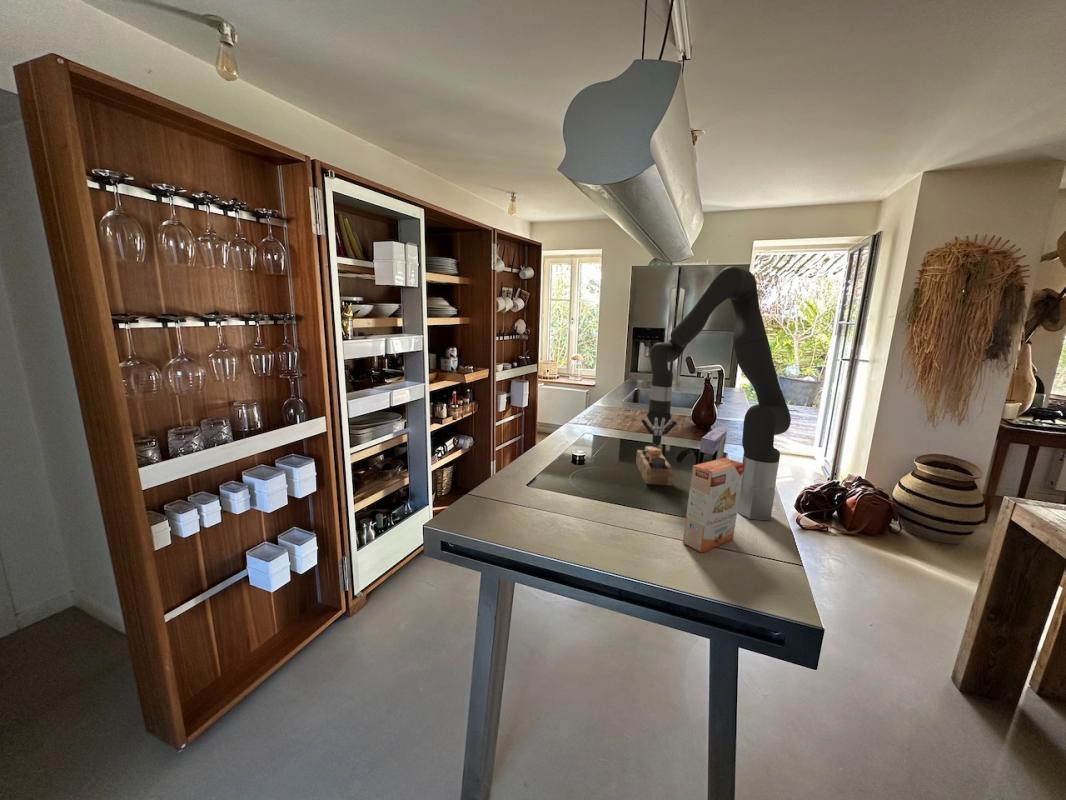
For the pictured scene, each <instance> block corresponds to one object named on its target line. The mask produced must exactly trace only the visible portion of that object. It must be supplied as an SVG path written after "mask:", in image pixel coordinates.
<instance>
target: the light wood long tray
mask: <svg viewBox="0 0 1066 800" xmlns="http://www.w3.org/2000/svg"><path fill="white" fill-rule="evenodd" d="M649 458H650V456H646V452H645V449H644V450H643V449H637V451H636V459H635V464H636V466H637V468H638V470H639V473H640V475H641V477H642V479H643V481H644V484H646V485H658V486H659V485H660V486H670V487H671V486H673V482H674V473H675V472H674V469H673V467H672V466H671V464H670V463H669V462H668V460H667V459H666V457H665V456H664V454H663V453H662V452H661V455H659V458H663V459H665V465H663V469H659V468H653V463H652V462H649Z"/></svg>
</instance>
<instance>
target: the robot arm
mask: <svg viewBox="0 0 1066 800" xmlns="http://www.w3.org/2000/svg"><path fill="white" fill-rule="evenodd" d="M727 299H730V302H731V304H732V306H733V312H734V316H735V326H734V330H733V331H734V332H733V338H732V345H733V350H734V354H735V359H736V362H737V364H738V367H739V368H740V370H741V372H742V373H743V375H744V376H745V377H746V379H747V380H748V381H749V383H750V385H752V387H753V389H754V391H755V395H756V397H757V403H758V404H755V405H751V406H750V407H749V408H748V409H747V411H746V412H745V415H744V419H743V428H742V436H741V437H742V439H741V440H742V441H741V442H742V443H741V445H742V448H743V456H742V462H741V463H743V464H745V466H744V472H743V478H742V485H741V491H740V497H739V504H738V510H737V514H740V515H741V516H744V517H746V518H747V519H750V520H758V521H759V520H761V521H771V519H772V514H773V513H772V512H773V506H774V500H775V495H776V485H777V483H776V482H777V477H778V471H779V464H780V459H781V452H780V450H779V449H777V448H776V447H774V446H775V445H774V443H775V436H777V435H781V434H784V433H786V432H787V431H788V430H789V429H790V426H791V423H792V422H791V421H792V419H791V418H792V417H791V413H790V412H791V411H790V410H789V407H788V404H787V402H786V400H785V399H786V398H785V395H784V393H783V391H782V388H781V386H780V382H779V378H778V374H777V370H776V367H775V363H774V359H773V355H772V351H771V347H770V346H771V345H770V342H769V338H768V336H767V335H768V334H767V332H766V328H765V327H766V326H765V323H764V319H763V316H762V313H761V309H760V303H759V296H758V286H757V280H756V277H755V275H754V274H753V273H752V272H751V271H750V270H748V269H744V268H741V267H737V266H732V265H731V266H727V267H724V268H723V269H722V270H720V272H718V273H717V274H716V276H715V277H714V278H713V280H712V282H711V283H710V284H709V286H707V288H706V290H705V291H704V293H703V294H702V295H701V296H700V298H699V300H697V302H696V304H695V305H694V306H693V307H692V309H691V310H690V311H689V312H688V314H687V315H685V317H684V318H682V319H681V320H680V322H679V323H678V324H677V325H676V326H675V327H674V328H673V329H672V330H671V332H670V334H669V335H670V336H669V337H670V340H669V341H667V342H656V343H655V344H654V345H652V347H651V349H650V353H649V360H650V368H651V372H652V377H651V385H650V386H651V388H650V391H649V403H648V412H647V413H646V416H645V417H644V418H640V421H641V423H642V425H643V426H644V428H645V429H646V431H647V432H648V433H649V434H650V435H652V444H653V446H657V447H658V446H660V444H662V443H661V442H662V436H664V435H667V434H669V433H670V431H671V430H672V429H673V428H674V427H675V426H676V425H677V421H675V420H674V419H673V418H672V415H671V410H672V408H671V407H672V398H673V381H674V380H673V379H674V372H673V371H672V370H671V369H669V367H668V363H672V362H674V361H676V360H677V359H679V357H681V355H682V354H683V353H684V351H685V349H686V347H688V345H689V344H690V343H691V342H692V341H693V340H694V339H695V338H696V337H697V336H698V335H699V334H700V333H701V332H702V330H703V329H704V328H705V326H706V324H707V321H708V320H709V318H710V317H711V315H712V314H713V312H714V311H715V309H716V308H717V307H718V306H720V305H721V304H722V303H723V302H725V301H726V300H727ZM649 422H650V425H652V429H651V427H650V426H649V424H648V423H649ZM665 426H666V427H665Z"/></svg>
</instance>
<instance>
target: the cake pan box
mask: <svg viewBox="0 0 1066 800" xmlns="http://www.w3.org/2000/svg"><path fill="white" fill-rule="evenodd" d="M727 433H728V430H727V429H722V428H717V427H715V428H714V429H712V430H711V431H709V432H707V434H705V435H704V436H702V437H701V440H700V445H699V452H698V459H697V460H698V461H697V464H701V463H706V462H710V461H714V460H718V459H722V458H724V452H725V446H726V440H727Z"/></svg>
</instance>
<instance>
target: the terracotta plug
mask: <svg viewBox="0 0 1066 800" xmlns="http://www.w3.org/2000/svg"><path fill="white" fill-rule="evenodd" d="M662 452H663V451H662V449H660V448H658V447H656V448H649V451H648V453H649V454H650V458H649V462H652V458H653V457H659V455H661V453H662Z"/></svg>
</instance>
